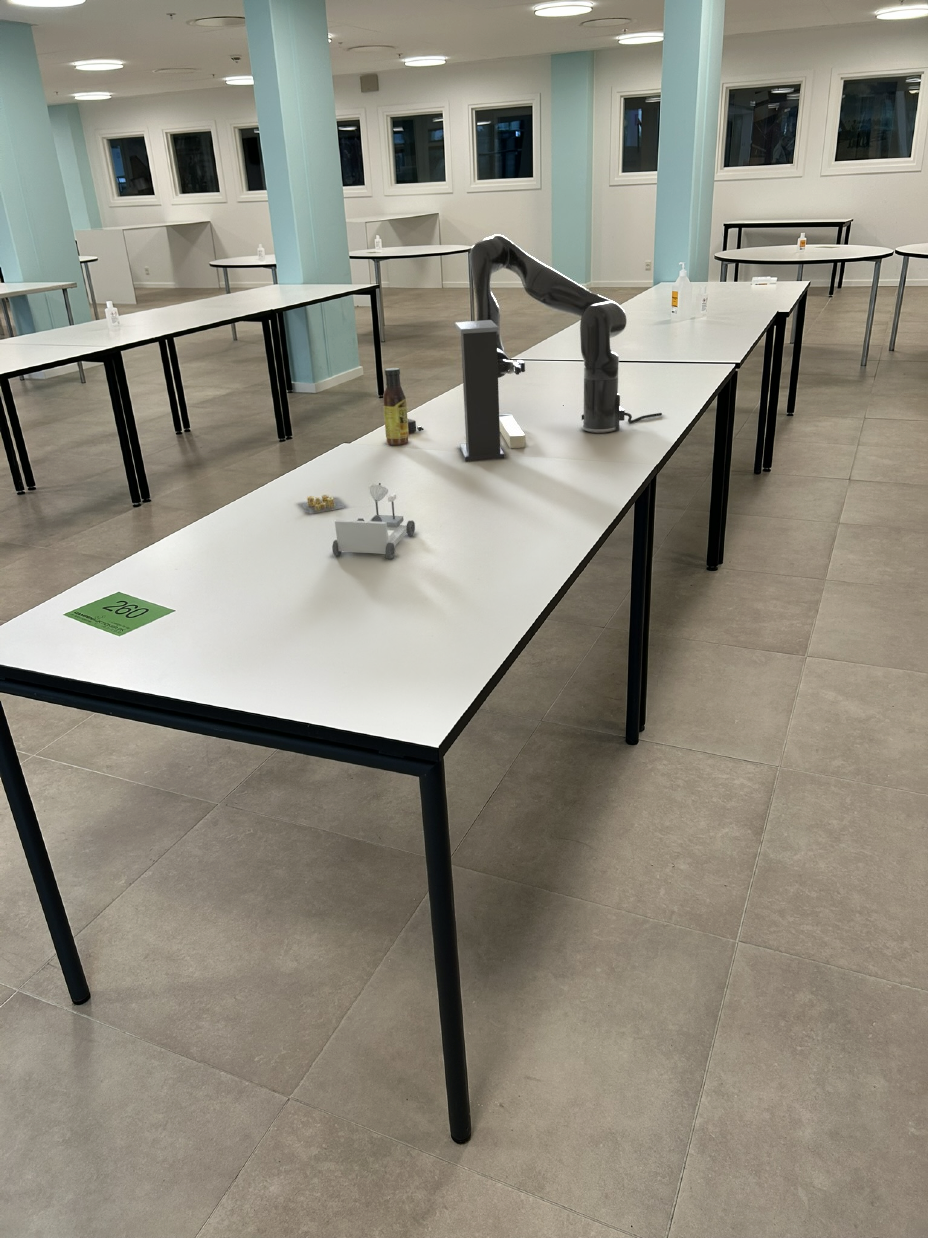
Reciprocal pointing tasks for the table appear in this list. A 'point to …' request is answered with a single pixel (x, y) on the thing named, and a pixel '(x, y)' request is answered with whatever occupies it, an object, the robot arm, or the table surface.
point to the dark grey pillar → (480, 390)
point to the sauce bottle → (395, 409)
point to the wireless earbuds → (413, 426)
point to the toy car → (372, 530)
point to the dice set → (321, 504)
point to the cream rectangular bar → (511, 431)
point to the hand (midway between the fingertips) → (502, 371)
